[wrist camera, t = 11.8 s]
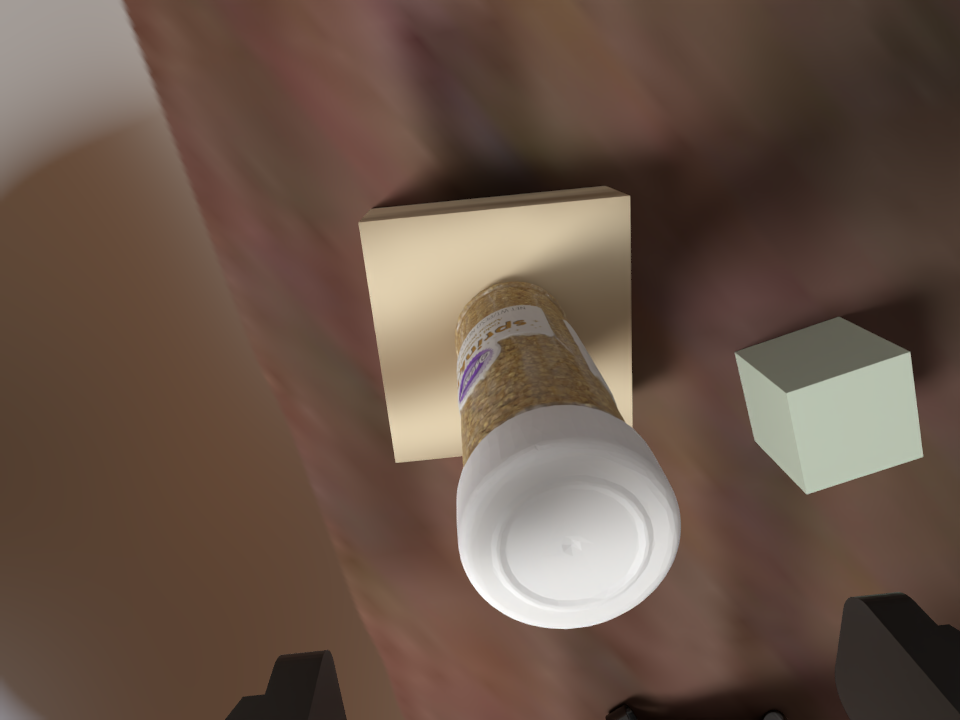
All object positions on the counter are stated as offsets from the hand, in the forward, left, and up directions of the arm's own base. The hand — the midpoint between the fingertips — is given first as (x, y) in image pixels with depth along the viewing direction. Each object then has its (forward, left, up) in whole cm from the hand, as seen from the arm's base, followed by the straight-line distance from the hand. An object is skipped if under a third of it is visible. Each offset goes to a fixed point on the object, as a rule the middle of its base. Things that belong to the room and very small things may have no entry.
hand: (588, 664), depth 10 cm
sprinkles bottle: (0, 0, -16) cm, 16 cm away
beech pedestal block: (0, 0, -20) cm, 20 cm away
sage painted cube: (+5, +14, -20) cm, 25 cm away
